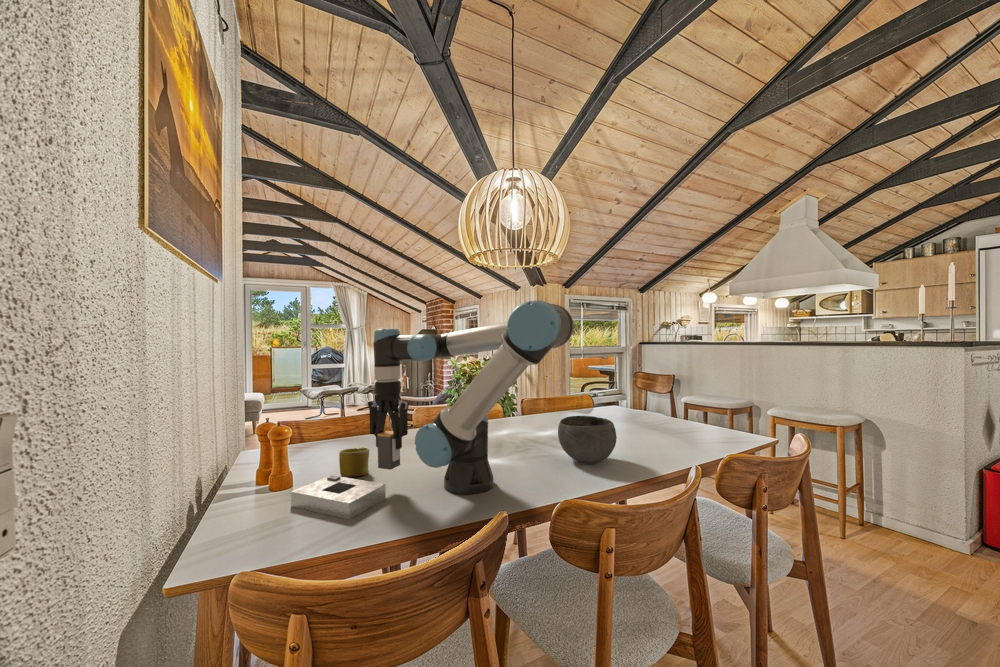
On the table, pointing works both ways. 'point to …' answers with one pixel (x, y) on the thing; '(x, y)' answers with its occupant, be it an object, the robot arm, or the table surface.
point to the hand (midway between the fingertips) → (389, 458)
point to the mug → (354, 462)
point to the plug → (386, 451)
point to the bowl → (587, 438)
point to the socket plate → (338, 496)
